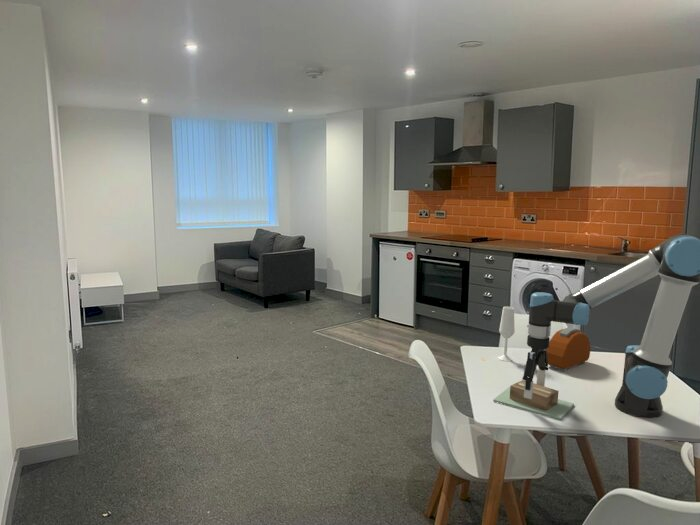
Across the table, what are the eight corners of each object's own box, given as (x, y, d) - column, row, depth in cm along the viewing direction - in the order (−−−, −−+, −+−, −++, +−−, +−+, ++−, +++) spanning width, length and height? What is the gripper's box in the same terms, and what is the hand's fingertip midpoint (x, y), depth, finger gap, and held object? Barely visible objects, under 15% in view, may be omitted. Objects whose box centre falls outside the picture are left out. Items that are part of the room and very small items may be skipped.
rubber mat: (573, 405, 193) (573, 403, 193) (560, 420, 180) (560, 418, 180) (509, 388, 207) (509, 386, 207) (493, 401, 195) (493, 399, 194)
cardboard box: (521, 392, 202) (522, 379, 201) (557, 404, 192) (558, 390, 191) (509, 398, 196) (510, 385, 195) (545, 410, 186) (546, 397, 185)
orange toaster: (571, 357, 248) (574, 322, 245) (590, 362, 241) (593, 326, 238) (543, 367, 233) (546, 330, 231) (562, 373, 226) (566, 335, 224)
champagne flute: (510, 362, 238) (514, 310, 235) (495, 359, 242) (499, 308, 238) (514, 358, 244) (517, 307, 241) (499, 355, 247) (502, 305, 244)
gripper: (539, 326, 202) (535, 380, 205) (515, 341, 182) (511, 400, 185) (559, 330, 198) (555, 384, 201) (537, 345, 178) (533, 405, 181)
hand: (534, 392), depth 193 cm, fingers open, 13 cm apart
